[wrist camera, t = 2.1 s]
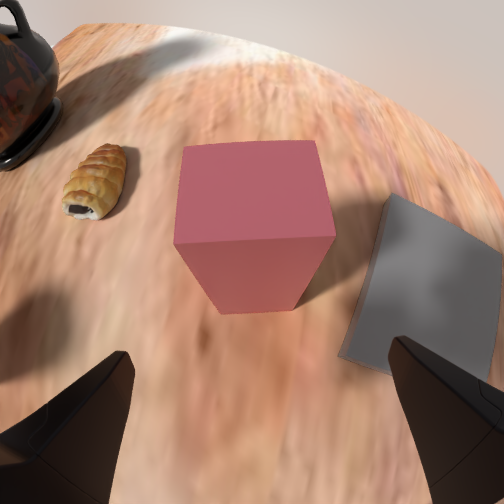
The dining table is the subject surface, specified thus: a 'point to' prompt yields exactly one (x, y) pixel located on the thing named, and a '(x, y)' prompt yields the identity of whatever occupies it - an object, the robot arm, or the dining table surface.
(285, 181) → the red rectangular block
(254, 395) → the dining table surface
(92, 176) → the pastry
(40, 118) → the amphora vase
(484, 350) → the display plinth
